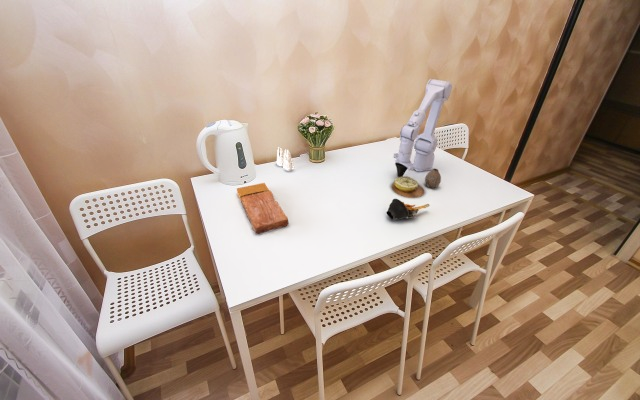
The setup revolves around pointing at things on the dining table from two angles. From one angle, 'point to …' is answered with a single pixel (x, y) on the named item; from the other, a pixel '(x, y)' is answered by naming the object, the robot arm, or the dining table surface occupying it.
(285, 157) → the shaker set
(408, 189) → the decorated donut
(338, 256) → the dining table surface
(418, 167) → the robot arm
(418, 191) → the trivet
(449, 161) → the dining table surface
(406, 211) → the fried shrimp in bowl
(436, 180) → the vase
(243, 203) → the brown wooden board
